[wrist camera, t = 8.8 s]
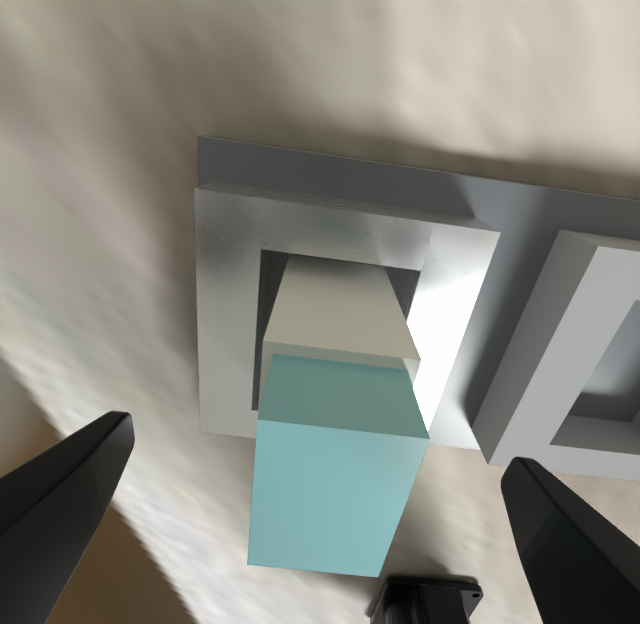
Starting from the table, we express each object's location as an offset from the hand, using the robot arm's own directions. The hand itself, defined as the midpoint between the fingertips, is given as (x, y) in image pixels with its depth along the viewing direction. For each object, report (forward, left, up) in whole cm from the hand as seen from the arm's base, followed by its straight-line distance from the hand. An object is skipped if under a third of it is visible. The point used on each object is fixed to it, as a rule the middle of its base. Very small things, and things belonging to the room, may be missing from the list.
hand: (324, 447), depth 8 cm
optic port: (0, 0, -7) cm, 7 cm away
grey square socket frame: (0, -12, -7) cm, 14 cm away
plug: (0, 0, -6) cm, 7 cm away
